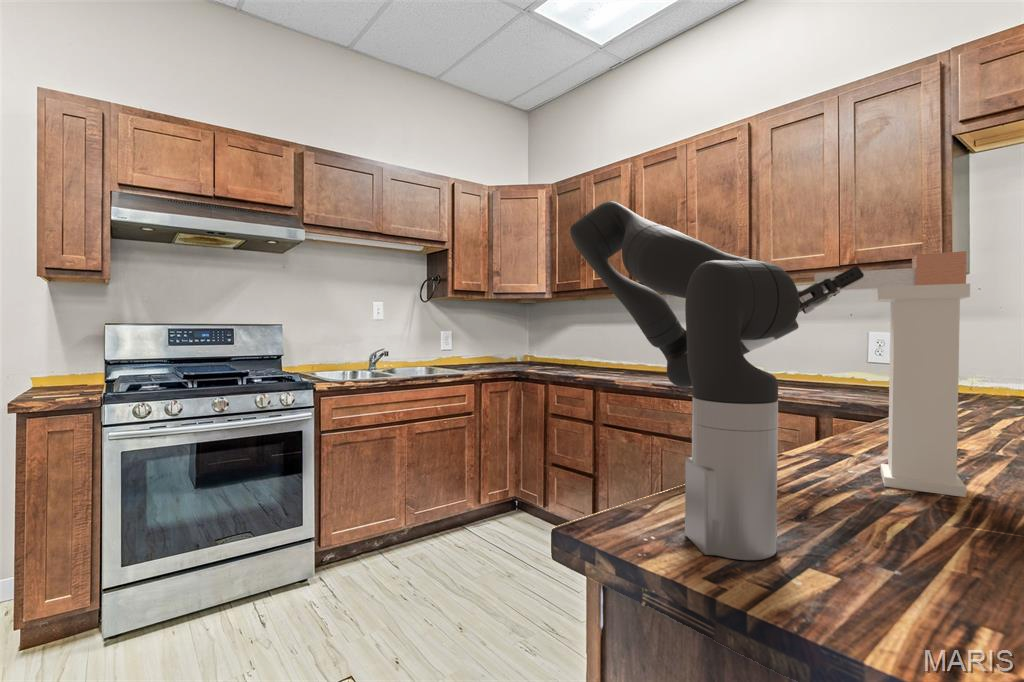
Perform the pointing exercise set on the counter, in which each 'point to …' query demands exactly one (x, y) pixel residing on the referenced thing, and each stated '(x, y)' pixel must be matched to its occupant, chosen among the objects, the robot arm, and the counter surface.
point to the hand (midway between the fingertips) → (860, 272)
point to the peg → (911, 273)
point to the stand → (923, 387)
